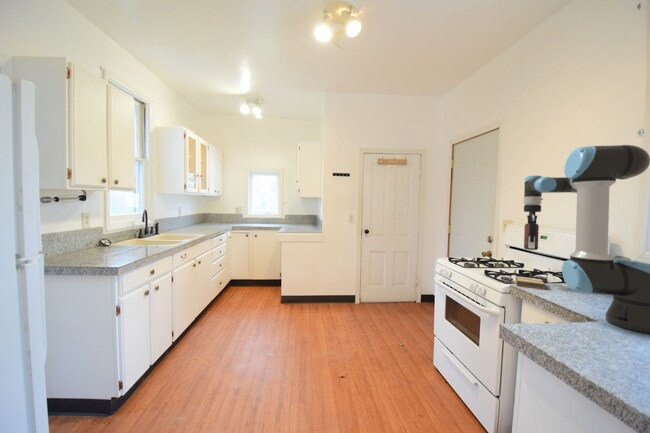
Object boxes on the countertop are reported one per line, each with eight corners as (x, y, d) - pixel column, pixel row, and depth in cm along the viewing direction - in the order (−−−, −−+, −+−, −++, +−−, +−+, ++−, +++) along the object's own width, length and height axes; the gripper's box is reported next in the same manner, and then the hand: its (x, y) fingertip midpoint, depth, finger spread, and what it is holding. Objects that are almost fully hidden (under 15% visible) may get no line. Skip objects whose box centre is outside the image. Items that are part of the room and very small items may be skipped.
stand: (545, 289, 143) (545, 284, 142) (516, 286, 149) (517, 280, 149) (541, 284, 153) (542, 279, 153) (515, 281, 159) (515, 276, 159)
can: (524, 249, 150) (525, 223, 149) (523, 247, 156) (523, 223, 155) (538, 250, 147) (539, 224, 146) (536, 248, 153) (537, 223, 152)
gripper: (543, 204, 140) (541, 250, 141) (539, 204, 154) (537, 246, 155) (525, 204, 144) (523, 249, 145) (522, 204, 158) (521, 245, 159)
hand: (531, 247), depth 150 cm, fingers open, 3 cm apart
